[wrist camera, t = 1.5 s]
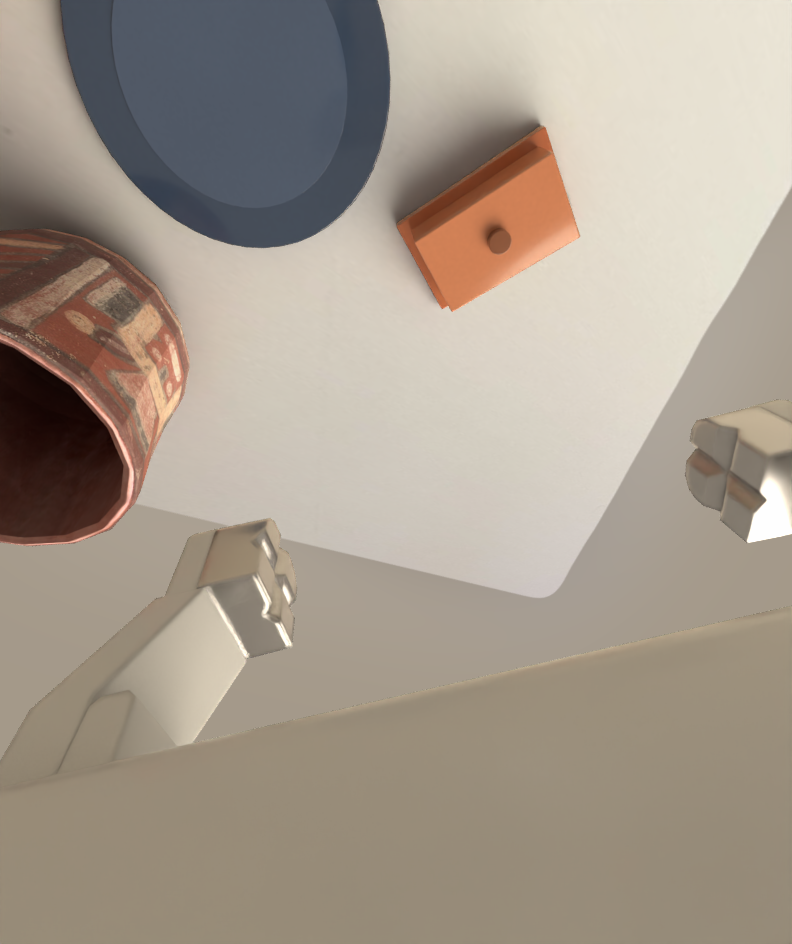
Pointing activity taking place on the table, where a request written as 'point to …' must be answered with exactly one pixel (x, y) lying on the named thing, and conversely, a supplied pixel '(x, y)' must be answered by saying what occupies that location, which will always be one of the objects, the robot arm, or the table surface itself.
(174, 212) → the plate
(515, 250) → the butter dish
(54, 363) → the pottery
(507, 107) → the table surface
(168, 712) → the robot arm
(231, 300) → the table surface
